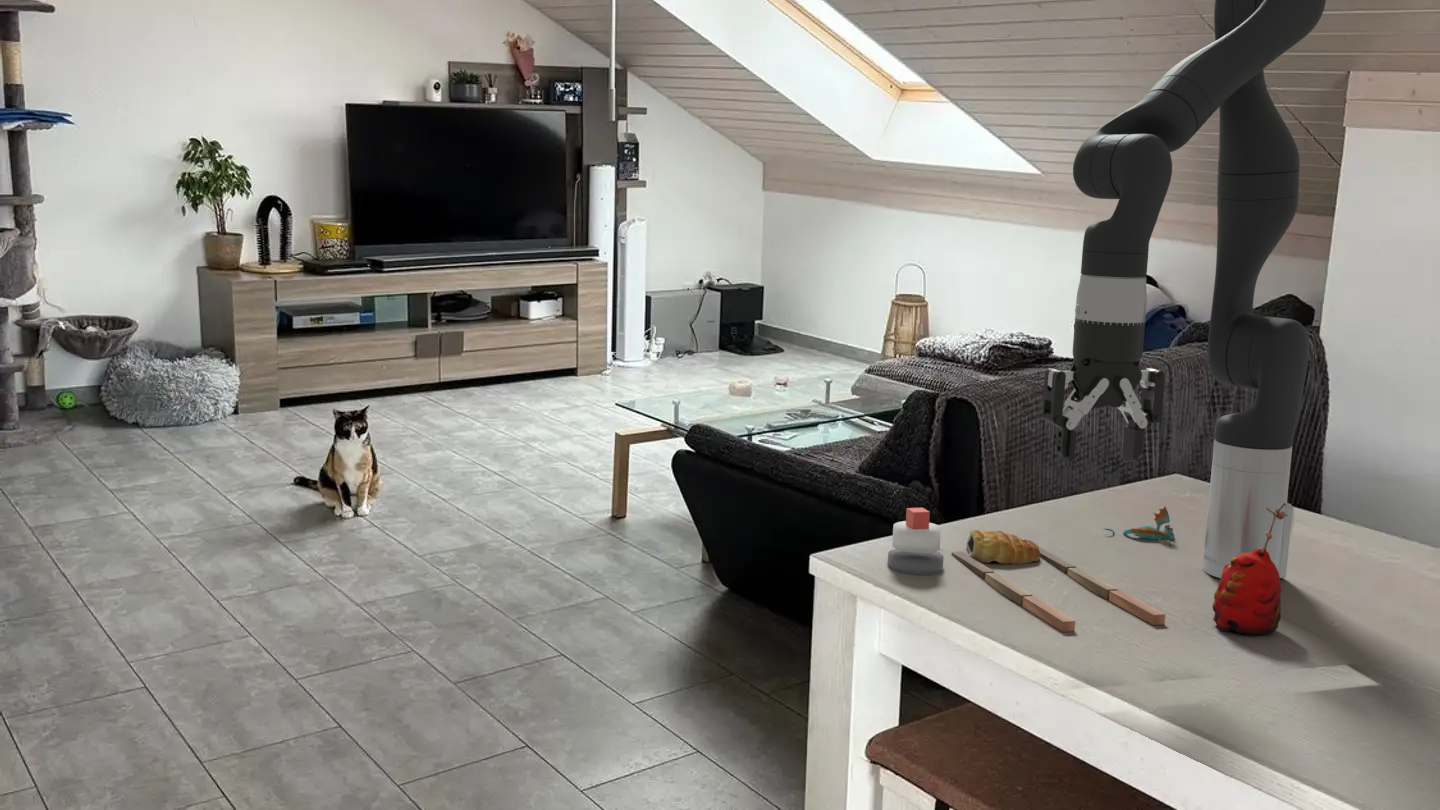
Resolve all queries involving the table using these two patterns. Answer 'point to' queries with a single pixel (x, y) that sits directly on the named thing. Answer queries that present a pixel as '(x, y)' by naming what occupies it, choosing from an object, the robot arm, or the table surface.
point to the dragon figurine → (1154, 529)
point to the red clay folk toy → (1250, 591)
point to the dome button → (916, 533)
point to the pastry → (1001, 548)
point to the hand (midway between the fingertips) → (1098, 460)
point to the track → (1050, 612)
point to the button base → (915, 562)
